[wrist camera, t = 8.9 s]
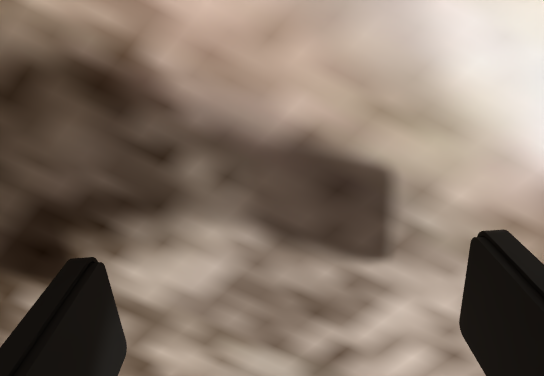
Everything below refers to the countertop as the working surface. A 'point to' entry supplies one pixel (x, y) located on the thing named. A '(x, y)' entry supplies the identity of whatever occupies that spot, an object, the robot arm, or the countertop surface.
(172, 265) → the countertop surface
